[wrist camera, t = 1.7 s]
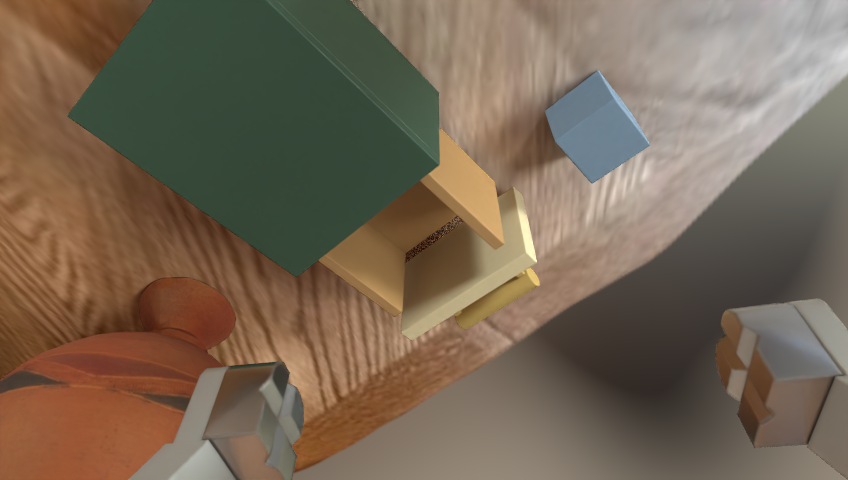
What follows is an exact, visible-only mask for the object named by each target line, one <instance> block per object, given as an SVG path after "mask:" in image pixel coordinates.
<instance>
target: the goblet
mask: <svg viewBox="0 0 848 480" xmlns="http://www.w3.org/2000/svg"><path fill="white" fill-rule="evenodd" d="M139 312H140V317H141V321H142V324H143V326H144V328H145V330H146V332H113V333H106V334H100V335H94V336H90V337H86V338H83V339H79V340H76V341H73V342H70V343H67V344H64V345H62V346H59V347H56V348H53V349H50V350H48V351H46V352H43V353H41V354H39V355H36V356H34V357H32V358H31V359H29V360H28V361H26V362H25V363H23V364H22V365H20V366H19V367H17V368H15V369H14V370H13V371H11V372H10V373H9V374H7V375H6V376H5V377H3V378H2V379H1V380H0V480H128V479H129V478H130V477H131V476H132V475H133V474H134V473H135V472H137V471H138V470H139V469H140V468H141V467H142V466H143V465H144V464H145V463H146V462H147V461H148V460H149V459H150V458H151V457H152V456H153V455H154V454H155V453H157V452H158V451H159V450H160V449H161V448H162V447H163V446H164V445H165V444H168V443H173V442H174V439H175V437H176V434H177V432H178V429H179V427H180V424H181V422H182V419H183V417H184V414H185V412H186V409H187V407H188V404H189V402H190V399H191V397H192V394H193V392H194V389H195V387H196V384H197V382H198V379H199V377H200V375H201V374H202V373H203V372H204V371H205V370H206V369H207V368H217V367H223V366H222V365H221V364H220V363H219V362H218V361H217V360H216V359H215V358H213V357H212V356H211V355H209V354H208V352H207V350H208V349H211V348H212V347H214V346H216V345H217V344H219V343H221V342H222V341H223V340H225V339H226V338H227V337H228V336H229V335H230V334H231V332H232V330H233V328H234V326H235V321H236V317H235V313H234V311H233V308H232V307H231V305H230V303H229V302H228V301H227V300H226V298H225V297H223V296H222V295H221V294H220V293H219V292H218V291H217V290H215V289H214V288H212V287H210V286H208V285H206V284H204V283H202V282H199V281H196V280H194V279H191V278H163V279H159V280H156V281H154V282H153V283H152V284H150V285H149V286H148V287H147V289H146V290H145V291H144V292H143V293H142V296H141V298H140V300H139Z"/></svg>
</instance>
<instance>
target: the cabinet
mask: <svg viewBox="0 0 848 480" xmlns="http://www.w3.org/2000/svg"><path fill="white" fill-rule="evenodd" d="M68 117H69V118H70V119H72V120H73V121H75V122H76V123H78V124H79V125H80V126H82V127H83V128H85V129H86V130H88V131H89V132H90V133H92V134H93V135H95V136H96V137H97V138H99V139H100V140H102V141H103V142H105V143H106V144H107V145H109V146H110V147H112V148H113V149H115V150H116V151H117V152H119V153H120V154H122V155H123V156H124V157H126V158H127V159H129V160H130V161H132V162H133V163H134V164H136V165H137V166H139V167H140V168H142V169H143V170H144V171H146V172H147V173H149V174H150V175H151V176H153V177H154V178H156V179H157V180H159V181H160V182H161V183H163V184H164V185H166V186H167V187H169V188H170V189H171V190H173V191H174V192H176V193H177V194H179V195H180V196H181V197H183V198H184V199H186V200H187V201H188V202H190V203H191V204H193V205H194V206H196V207H197V208H198V209H200V210H201V211H203V212H204V213H206V214H207V215H208V216H210V217H211V218H213V219H214V220H215V221H217V222H218V223H220V224H221V225H223V226H224V227H225V228H227V229H228V230H230V231H231V232H233V233H234V234H235V235H237V236H238V237H240V238H241V239H242V240H244V241H245V242H247V243H248V244H250V245H251V246H252V247H254V248H255V249H257V250H258V251H260V252H261V253H262V254H264V255H265V256H267V257H268V258H269V259H271V260H272V261H274V262H275V263H277V264H278V265H279V266H281V267H282V268H284V269H285V270H287V271H288V272H289V273H291V274H292V275H294V276H295V277H297V276H299V275H300V274H301V273H303V272H304V271H305V270H306V269H308V268H309V267H310V266H311V265H313V264H314V263H315V262H317V261H318V260H319V259H320V258H322V257H323V256H324V255H326V254H327V253H328V252H329V251H331V250H332V249H333V248H334V247H336V246H337V245H338V244H340V243H341V242H342V241H343V240H345V239H346V238H347V237H348V236H350V235H351V234H352V233H354V232H355V231H356V230H357V229H359V228H360V227H361V226H363V225H364V224H365V223H366V222H368V221H369V220H370V219H371V218H373V217H374V216H375V215H377V214H378V213H379V212H380V211H382V210H383V209H384V208H385V207H387V206H388V205H389V204H391V203H392V202H393V201H394V200H396V199H397V198H398V197H399V196H401V195H402V194H403V193H405V192H406V191H407V190H408V189H410V188H411V187H412V186H414V185H415V184H416V183H417V182H419V181H420V180H421V179H422V178H424V177H425V176H426V175H428V174H429V173H430V172H431V171H433V170H434V169H435V168H436V167H438V166H439V165H440V146H439V92H438V91H437V90H436V89H435V88H434V87H433V86H432V85H431V84H430V83H429V82H428V81H427V80H426V79H425V78H424V77H423V76H422V75H421V74H420V73H419V72H418V71H417V70H416V68H415V67H414V66H413V65H412V64H411V63H410V62H409V61H408V60H407V59H406V58H405V57H404V56H403V55H402V54H401V53H400V52H399V51H398V50H397V49H396V48H395V47H394V46H393V45H392V44H391V43H390V42H389V41H388V39H387V38H386V37H385V36H384V35H383V34H382V33H381V32H380V31H379V30H378V29H377V28H376V27H375V26H374V25H373V24H372V23H371V22H370V21H369V20H368V19H367V18H366V17H365V16H364V15H363V14H362V13H361V12H360V10H359V9H358V8H357V7H356V6H355V5H354V4H353V3H352V2H351V1H350V0H153V2H152V3H151V4H150V6H149V7H148V8H147V10H146V11H145V12H144V14H143V15H142V16H141V18H140V19H139V20H138V22H137V23H136V24H135V26H134V27H133V28H132V30H131V31H130V32H129V34H128V35H127V36H126V38H125V39H124V40H123V42H122V43H121V44H120V46H119V47H118V48H117V50H116V51H115V52H114V54H113V55H112V56H111V58H110V59H109V60H108V62H107V63H106V64H105V66H104V67H103V68H102V70H101V71H100V72H99V74H98V75H97V76H96V78H95V79H94V80H93V82H92V83H91V84H90V86H89V87H88V88H87V90H86V91H85V92H84V94H83V95H82V96H81V98H80V99H79V100H78V102H77V103H76V104H75V106H74V107H73V108H72V110H71V111H70V112H69V114H68Z"/></svg>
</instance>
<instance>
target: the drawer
mask: <svg viewBox="0 0 848 480" xmlns="http://www.w3.org/2000/svg"><path fill="white" fill-rule="evenodd" d="M439 146H440V165H439V166H438V167H436V168H435V169H434V170H433V171H431V172H430V173H429V174H428V175H426V176H425V177H424V178H422V179H421V180H420V181H419V182H417V183H416V184H415V185H414V186H412V187H411V188H410V189H408V190H407V191H406V192H405V193H403V194H402V195H401V196H399V197H398V198H397V199H396V200H394V201H393V202H392V203H391V204H389V205H388V206H387V207H385V208H384V209H383V210H382V211H380V212H379V213H378V214H377V215H375V216H374V217H373V218H371V219H370V220H369V221H368V222H366V223H365V224H364V225H363V226H361V227H360V228H359V229H357V230H356V231H355V232H354V233H352V234H351V235H350V236H348V237H347V238H346V239H345V240H343V241H342V242H341V243H340V244H338V245H337V246H336V247H334V248H333V249H332V250H331V251H329V252H328V253H327V254H326V255H324V256H323V257H322V258H320V259H319V260H318V261H319V262H320V263H322V264H323V265H324V266H326V267H327V268H329V269H330V270H331V271H333V272H334V273H335V274H337V275H338V276H339V277H341V278H342V279H343V280H345V281H346V282H348V283H349V284H350V285H352V286H353V287H354V288H356V289H357V290H358V291H360V292H361V293H363V294H364V295H365V296H367V297H368V298H369V299H371V300H372V301H373V302H375V303H376V304H377V305H379V306H380V307H382V308H383V309H384V310H386V311H387V312H388V313H390V314H391V315H392V316H394V317H396V316H397V315H399V314H400V313H402V319H401V334H403V335H404V336H405V337H407V338H408V339H410V340H411V341H412V340H414V339H415V338H417V337H419V336H420V335H422V334H423V333H425V332H427V331H428V330H430V329H431V328H433V327H435V326H436V325H438V324H439V323H441V322H443V321H444V320H446V319H447V318H449V317H451V316H452V315H454V316H455V320H456V322H457V324H458V325H459V326H460V327H461V328H462V329H464V330H466V329H468V328H470V327H471V326H473V325H475V324H476V323H478V322H480V321H481V320H483V319H485V318H486V317H488V316H490V315H491V314H493V313H495V312H496V311H498V310H500V309H501V308H503V307H504V306H506V305H508V304H509V303H511V302H513V301H514V300H516V299H518V298H519V297H521V296H523V295H524V294H526V293H528V292H529V291H531V290H533V289H534V288H536V287H538V286H539V285H540V283H539V279H538V277H537V275H536V274H535V273H534V271H533V270H532V269H531V268H529V267H531V266H532V265H534V264H535V263H537V260H536V255H535V251H534V246H533V241H532V237H531V232H530V228H529V223H528V218H527V214H526V209H525V205H524V200H523V196H522V195H521V194H520V193H519V192H518V191H517V190H516V189H515V187H512V188H510V189H509V190H508V191H506V192H505V193H503V194H502V195H501V196H499V197H498V198H497V192H496V185H495V182H494V181H493V180H492V179H491V178H490V177H489V176H488V175H487V174H486V173H485V172H484V171H483V170H482V169H481V168H480V167H479V166H478V165H477V164H476V163H475V162H474V161H473V160H472V159H471V158H470V157H469V156H468V155H467V154H466V153H465V152H464V151H463V150H462V149H461V148H460V147H459V146H458V145H457V144H456V143H455V142H454V141H453V140H452V139H451V138H450V137H449V136H448V135H447V134H446V133H445V132H444V131H443V130H442V129H441V128H440V127H439ZM457 216H458V217H460V218H461V219H462V220H463V221H464V222H463V223H461V224H460V225H458V226H457V227H456V228H454V229H453V230H451V231H450V232H448V233H447V234H446V235H444V236H443V237H441V238H440V239H439V240H437V241H436V242H434V243H433V244H432V245H430V246H429V247H427V248H426V249H425V250H423V251H422V252H420V253H419V254H417V255H416V256H415V257H413V258H412V259H410V260H409V261H408V262H406V263H405V256H406V254H405V253H407V252H408V251H410V250H411V249H412V248H414V247H415V246H417V245H418V244H419V243H421V242H422V241H423V240H425V239H426V238H428V237H429V236H430V235H432V234H433V233H435V232H436V231H437V230H439V229H440V228H442V227H443V226H444V225H446V224H447V223H448V222H450V221H451V220H453V219H454V218H455V217H457Z"/></svg>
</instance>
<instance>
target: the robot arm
mask: <svg viewBox="0 0 848 480" xmlns="http://www.w3.org/2000/svg"><path fill="white" fill-rule="evenodd" d="M721 326H722V328H723V330H724V332H725V335H724V336H723V337H722V338H721V339H720V340H719V341H718V342H717V347H716V364H717V370H718V373H719V376H720V380H721V382H722V384H723V386H724V388H725V390H726V393H727V394H729V395H730V396H732V397H733V398H735V399H736V400H738V401H739V402H740V406H739V410H738V414H737V415H738V417H739V419H740V421H741V423H742V425H743V427H744V429H745V431H746V433H747V435H748V436H749V439H750V441H751V442H752V444H753V446H754V448H761V447H775V446H776V447H777V446H792V445H808V446H807V448H809V449H810V450H811V451H813V452H814V453H815V454H816V455H817V456H819V457H820V458H821V459H822V460H824V461H825V462H826V463H827V464H829V465H830V466H831V467H832V468H834V469H835V470H836V471H837V472H839V473H840V474H841V475H842V476H844V477H845V478H846V479H847V480H848V330H847V329H846V327H845V326H844V325H843V324H842V322H841V321H840V320H839V319H838V317H837V316H836V315H835V314H834V312H833V311H832V310H831V309H830V307H829V306H828V305H827V303H826V302H824V301H822V300H821V299H811V300H802V301H794V302H787V303H784V302H783V303H775V304H767V305H760V306H751V307H743V308H735V309H728V310H726V311H725V313H724V314H723V317H722V321H721ZM289 374H290V372H289V371H288V369H287V367H286V365H285V363H284V362H269V363H258V364H247V365H235V366H228V367H217V368H207V369H206V370H205V371H204V372H203V373H202V374H201V375H200V377H199V379H198V382H197V384H196V387H195V389H194V392H193V394H192V397H191V399H190V402H189V404H188V407H187V409H186V412H185V414H184V417H183V419H182V422H181V424H180V427H179V429H178V432H177V434H176V437H175V439H174V442H173V443H168V444H165V445H164V446H163V447H162V448H161V449H160V450H159V451H158V452H157V453H155V454H154V455H153V456H152V457H151V458H150V459H149V460H148V461H147V462H146V463H145V464H144V465H143V466H142V467H141V468H140V469H139V470H138V471H137V472H135V473H134V474H133V475H132V476H131V477H130V478H129V479H128V480H292V477H293V473H294V468H295V463H296V459H297V455H296V454H295V452H294V450H293V448H292V445H293V444H294V443H295V442H296V441H297V439H298V438H299V437H300V436H301V433H302V428H303V422H304V412H303V403H302V398H301V395H300V393H299V391H298V389H297V387H295V386H293V385H292V384H290V383H288V379H289Z"/></svg>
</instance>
